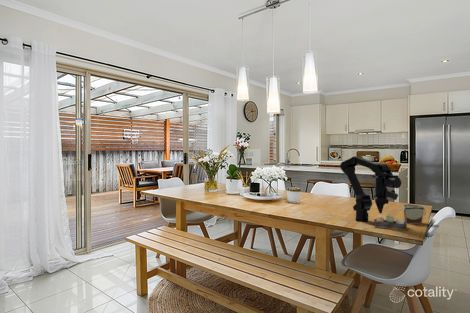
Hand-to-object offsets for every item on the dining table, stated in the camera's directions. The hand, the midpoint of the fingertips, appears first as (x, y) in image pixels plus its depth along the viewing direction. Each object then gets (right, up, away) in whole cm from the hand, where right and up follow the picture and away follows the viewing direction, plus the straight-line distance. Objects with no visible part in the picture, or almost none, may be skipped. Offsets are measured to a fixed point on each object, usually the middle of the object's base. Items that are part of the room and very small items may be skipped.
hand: (380, 213), depth 158 cm
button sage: (+4, -5, -2) cm, 7 cm away
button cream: (+9, -6, -4) cm, 12 cm away
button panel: (+4, -8, -2) cm, 9 cm away
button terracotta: (0, -6, 0) cm, 6 cm away
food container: (+23, -7, +9) cm, 25 cm away
